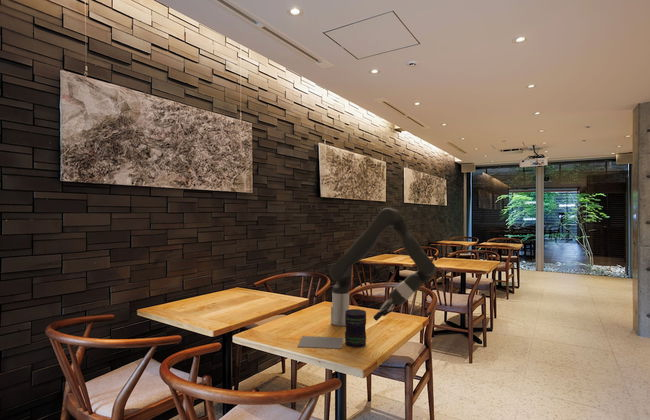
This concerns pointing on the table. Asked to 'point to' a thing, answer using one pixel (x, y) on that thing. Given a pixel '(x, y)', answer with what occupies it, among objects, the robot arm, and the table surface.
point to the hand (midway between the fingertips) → (374, 319)
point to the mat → (321, 342)
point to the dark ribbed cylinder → (355, 328)
